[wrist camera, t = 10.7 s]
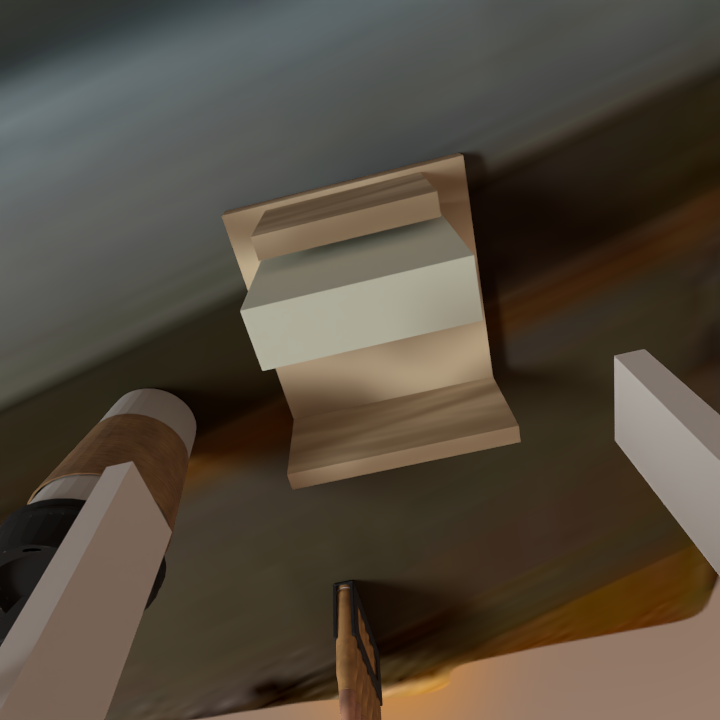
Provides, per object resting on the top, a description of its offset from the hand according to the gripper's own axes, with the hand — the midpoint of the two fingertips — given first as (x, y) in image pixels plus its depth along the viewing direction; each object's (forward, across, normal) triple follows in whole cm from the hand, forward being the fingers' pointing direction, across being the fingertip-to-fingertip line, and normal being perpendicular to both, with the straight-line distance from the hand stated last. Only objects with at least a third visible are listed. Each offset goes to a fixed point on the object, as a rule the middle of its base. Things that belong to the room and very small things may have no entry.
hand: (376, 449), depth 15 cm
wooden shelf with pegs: (+21, 0, -4) cm, 21 cm away
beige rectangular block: (+19, 0, 0) cm, 19 cm away
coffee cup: (+21, -17, -9) cm, 28 cm away
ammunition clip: (+21, -8, -34) cm, 41 cm away
